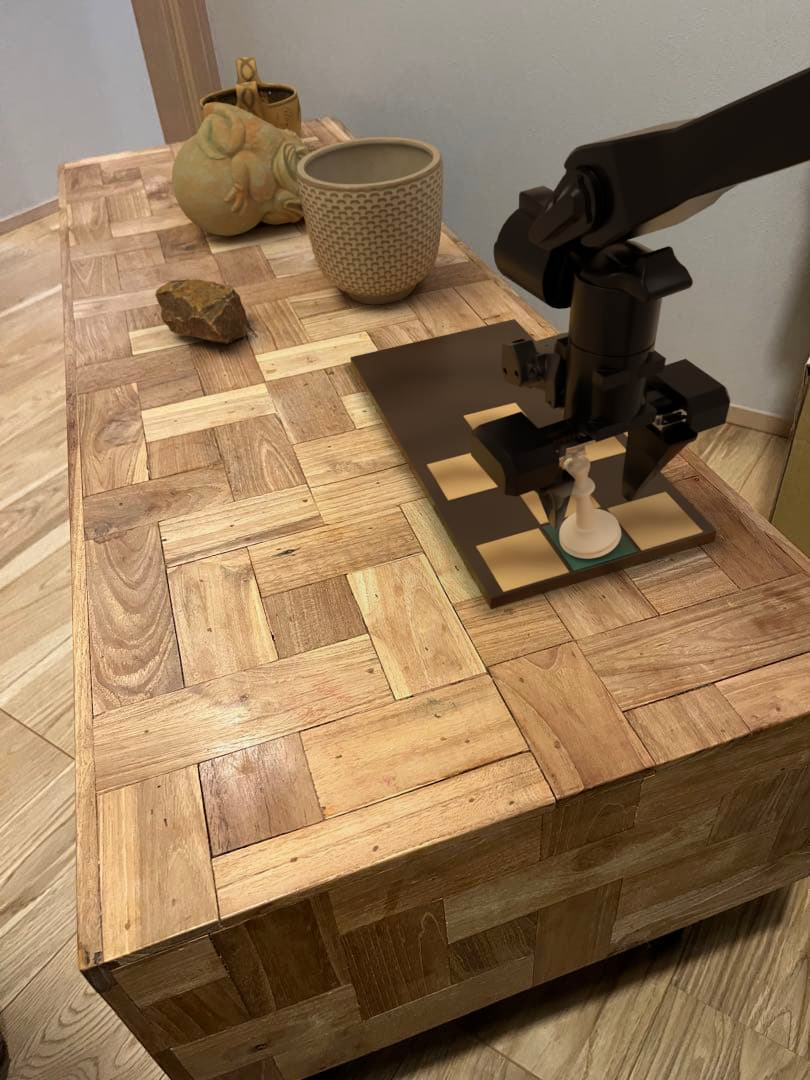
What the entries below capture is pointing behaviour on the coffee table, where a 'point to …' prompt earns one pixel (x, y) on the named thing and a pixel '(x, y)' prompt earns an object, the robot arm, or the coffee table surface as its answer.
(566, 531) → the chess piece
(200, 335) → the rock
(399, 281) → the planter
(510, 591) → the game board
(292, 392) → the coffee table surface
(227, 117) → the sculpture
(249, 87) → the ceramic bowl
